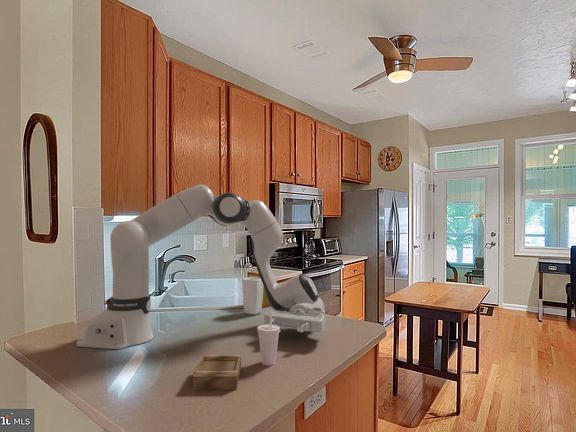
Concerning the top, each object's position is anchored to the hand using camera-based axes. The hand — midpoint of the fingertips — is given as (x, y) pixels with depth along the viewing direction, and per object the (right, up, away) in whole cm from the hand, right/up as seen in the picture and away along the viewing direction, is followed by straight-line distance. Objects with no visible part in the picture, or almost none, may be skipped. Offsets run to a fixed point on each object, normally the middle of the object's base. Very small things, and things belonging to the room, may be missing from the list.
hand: (285, 327), depth 105 cm
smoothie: (-5, -6, -11) cm, 13 cm away
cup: (-14, -8, +41) cm, 44 cm away
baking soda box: (-13, -8, +55) cm, 57 cm away
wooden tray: (-16, -6, -21) cm, 27 cm away
